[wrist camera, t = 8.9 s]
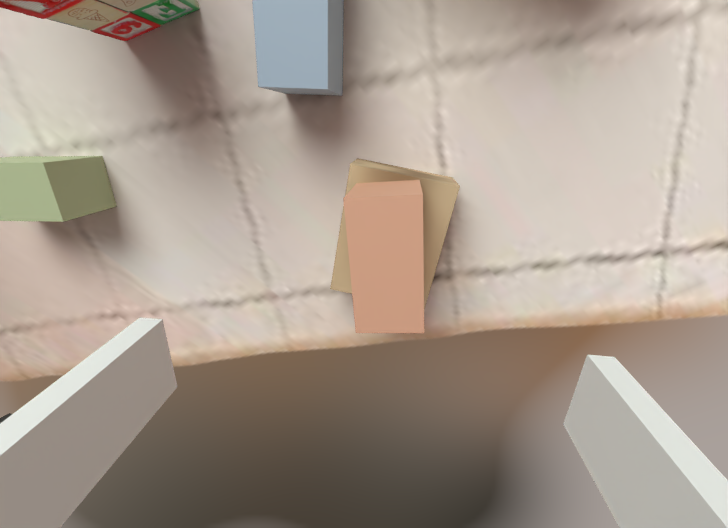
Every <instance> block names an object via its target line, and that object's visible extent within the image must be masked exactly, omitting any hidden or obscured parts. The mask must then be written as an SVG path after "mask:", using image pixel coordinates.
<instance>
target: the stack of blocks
mask: <svg viewBox="0 0 728 528" xmlns="http://www.w3.org/2000/svg"><path fill="white" fill-rule="evenodd" d="M0 7H1V8H5V9H9V10H12V11H15V12H20V13H23V14H26V15H30V16H35V17H38V18H42V19H45V18H47V19H49V20H53V21H57V22H60V23H64V24H68V25H72V26H75V27H79V28H82V29H86V30H90V31H92V32H95V33H98V34H102V35H105V36H109V37H112V38H115V39H119V40H122V41H128V40H130V39H132V38H134V37H137V36H139V35H142V34H144V33H146V32H148V31H151V30H153V29H155V28H158V27H160V26H161V25H163V24H165V23H167V22H170V21H172V20H174V19H177V18H179V17H182V16H184V15H186V14H189V13H191V12H193V11H196V10H198V9H199V4H198V2H197V0H0Z"/></svg>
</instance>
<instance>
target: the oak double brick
mask: <svg viewBox="0 0 728 528" xmlns="http://www.w3.org/2000/svg"><path fill="white" fill-rule="evenodd" d="M406 180H420V184H421V188H422V192H423V254H424V309H425V305H426V302H427V298H428V295H429V291H430V288H431V284H432V281H433V278H434V274H435V271H436V267H437V264H438V260H439V257H440V253H441V250H442V246H443V243H444V239H445V236H446V232H447V229H448V226H449V222H450V219H451V215H452V212H453V208H454V205H455V201H456V198H457V194H458V191H459V187H460V186H459V185H458V183H457V182H456V181H455V180H454V179H453V178H452V177H447V176H442V175H437V174H432V173H428V172H423V171H418V170H413V169H408V168H403V167H398V166H393V165H388V164H383V163H378V162H373V161H368V160H363V159H356V160H355V161H354V162H352V163H351V164H350V169H349V175H348V182H347V188H346V194H345V196H346V195H347V194H348V192H349V191H350V190H351V189H352V188H353V187H354V186H355V184H356V183H370V182H388V181H406ZM330 289H332V290H337V291H342V292H347V293H351V294H352V286H351V275H350V265H349V254H348V243H347V232H346V221H345V211H344V207H343V213H342V219H341V225H340V232H339V238H338V244H337V251H336V257H335V263H334V269H333V276H332V282H331V288H330Z"/></svg>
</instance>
